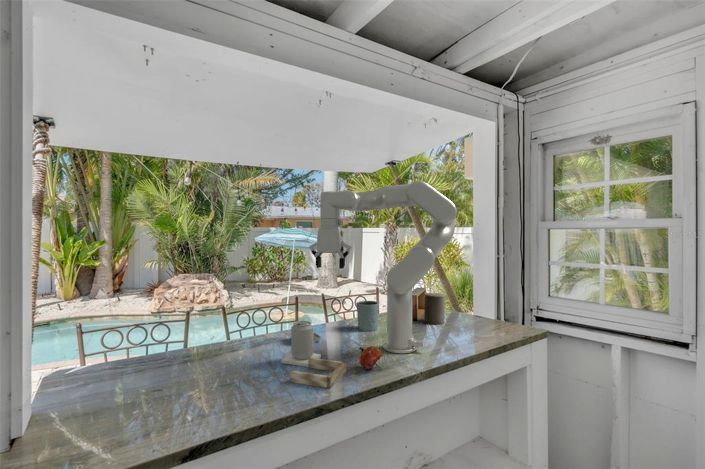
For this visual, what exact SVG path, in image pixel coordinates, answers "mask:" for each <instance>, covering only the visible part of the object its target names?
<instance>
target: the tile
mask: <svg viewBox="0 0 705 469" xmlns="http://www.w3.org/2000/svg"><path fill="white" fill-rule="evenodd" d="M321 356H322V355H321V353H314V352H313V355H312V356H311V357H310V358H318V359H321V358H322V357H321ZM280 362H281V364H286V365H287V364H288V365H292V366H299V367H305V368H308V359H305V360H297V359H295V358H294V357H292V355H291V353H290V354H289V355H287V356H285V357H284V358H282V359H281V360H280Z"/></svg>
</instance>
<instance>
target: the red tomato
mask: <svg viewBox="0 0 705 469" xmlns="http://www.w3.org/2000/svg"><path fill="white" fill-rule="evenodd" d="M358 350H360V352H361V353H360V355H359V356H358V359H359V360H358V361H359V364H360V366H361V367H362V368H363V369H365V370H366V371H369V370H371V369H372V367H373V366H374V365H375V366H376V367H378V368H379V369H380V370H381V371H383V369H382V368H381V367H380V366H379V365H378V364H377V362H378V361H379V360H380V359H381V357H382V356H383V354H382V351H381V350H380V349H379V348H378V347H375V346H372V345H371V346H367V347H366V348H362V347H359V348H358Z"/></svg>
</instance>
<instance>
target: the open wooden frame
mask: <svg viewBox="0 0 705 469" xmlns="http://www.w3.org/2000/svg"><path fill="white" fill-rule="evenodd" d="M347 365H348V364H347V362H346V361H339V360H332V359H323V358H319V359H318V358H308V367H307V368H310V369H316V370H324V371H330V372H331V373H330V374H329V375H323V374H317V373H311V372H305V371H297V370H290V371H289V382H290V383H295V384H302V385H307V386H313V387H319V388H326V389H327V388H328V389H331V388H332V387H333V386H334V385H335V384H336V383H337V382H338V381H339V380H340V379H341V378H342V377H343V376H344V375H345V374H346V373H347V370H348V369H347Z"/></svg>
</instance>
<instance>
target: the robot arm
mask: <svg viewBox="0 0 705 469" xmlns="http://www.w3.org/2000/svg"><path fill="white" fill-rule="evenodd" d="M319 198H320V201H319V202H320V208H319V209H320V210H319V211H320V214H319V216H320V217H319V218H320V220H319V221H320V222H319V223H320V225H319V226H320V227H318V231H317V236H316V242H314V243H313V244H311V245H309V249H310V251H311V252H310V253H311V254H312V256H314V258H315V266H316V268H317V269H318V268H322V257H321V255H322V254H337V255H338V256H339V257H340V258H339V259H338V260H339V262H338V263H339V270H340V269H344V268H345V267H346V258H347V256H348V255H350V253H351V250H352V246H351V245H349V244H347V243H346V242H345V236H344V231H343V230H344V229H343V227H341V225H343V224H344V221H343V220H341V218H340V217H341V216H340V215H341V214H340V212H341V210H344V211H348V212H360V211H361V212H362V211H370V210H384V209H395V208H405V207H406V208H407V207H409V208H410V207H418V208H419V209H421V210H422V211H423V212H425V213H426V214H427V215H428V216H430V218H431V220H432V225H431V228H430V229H429V230H428V231H427V232H426V233H425V234H424V235H423V237H422V238H421V239H419V241H418V242H417V243H416V244H414V245H413V246H412V247H411V248H410V249H409V250H408V253H407V254H406V255H405V256H404V257H403V258H402V259H401V260H400V261H399V262H398V263H397V264H395V265H393V266H392V267H391V268H390V269H389V270H388V271H387V275H386V288H387V290H386V299H387V300H386V341H385V342H384V343H383V344H382V348H383V350H385V352H386V351H387V352H388V353H394V354H409V353H413V352H415V351H416V350H417V347H419V348H424V346H425V342H424V341H422V339H416V338H415V336H414V335H413V289H414V287H415V286H416V285H417V284H418V283H419V282H420V281H421V280H422V279H423V278H424V277H425V276H426V275H427V274H428V273H429V272H430V271H431V269H432V268H433V266H434V264H435V259H436V258H437V256H439V255H440V253H441V252H442V251H443V250H444V249H445V248H446V246H447V245H448V244H449V243H450V241H452V238H453V237H454V234H455V230H456V229H455V228H456V220H455V219H456V217H457V216H458V209H457V207H456V205H455V203H453V201H451V200H450V199H449V198H448V197H446V196H445V195H443V194H442V193H441V192H439V191H438V190H437V189H435V188H434V187H432V186H431V185H430V184H429V183H427V182H425V181H423V180H415V181H413V182H411V183H405V184H395V185H394V184H393V185H385V186H381V187H380V188H379V187H378V188H377V189H374V190H373V189H372V190H367V191H359V192H355V191H353V190H350V189H349V190H348V189H347V190H341V191H333V190H332V191H322V192H321V193H320V197H319ZM315 248H316V249H315ZM345 248H346V249H345Z"/></svg>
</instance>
